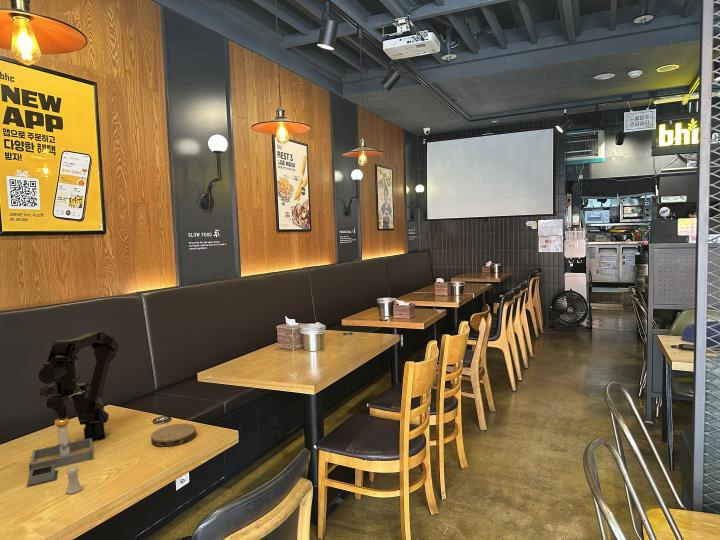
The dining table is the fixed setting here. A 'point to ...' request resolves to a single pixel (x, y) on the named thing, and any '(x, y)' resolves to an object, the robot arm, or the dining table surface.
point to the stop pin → (63, 436)
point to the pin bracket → (42, 475)
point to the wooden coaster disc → (173, 435)
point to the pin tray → (64, 459)
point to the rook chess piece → (73, 481)
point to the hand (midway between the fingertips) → (70, 418)
